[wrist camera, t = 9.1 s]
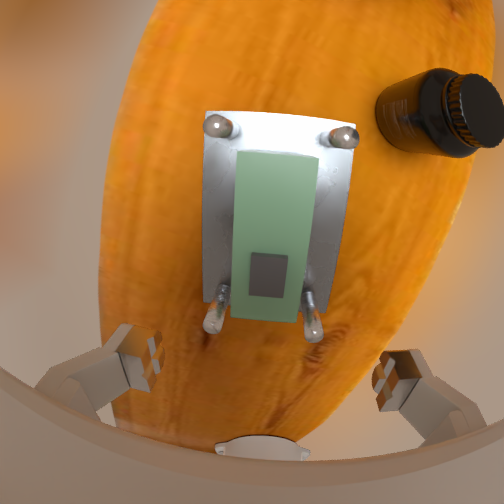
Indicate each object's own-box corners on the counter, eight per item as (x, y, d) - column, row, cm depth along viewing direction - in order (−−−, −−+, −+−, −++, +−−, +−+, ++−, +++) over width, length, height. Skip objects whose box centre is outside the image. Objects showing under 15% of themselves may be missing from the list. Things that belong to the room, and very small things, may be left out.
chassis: (323, 306, 29) (334, 351, 22) (205, 296, 30) (188, 338, 23) (352, 124, 22) (380, 119, 15) (208, 112, 22) (184, 102, 16)
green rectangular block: (244, 149, 20) (235, 151, 15) (309, 155, 20) (320, 159, 15) (237, 287, 25) (229, 321, 20) (293, 292, 24) (296, 327, 20)
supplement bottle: (424, 161, 22) (505, 183, 11) (366, 136, 22) (435, 136, 11) (438, 102, 19) (518, 95, 8) (381, 73, 19) (449, 37, 8)
